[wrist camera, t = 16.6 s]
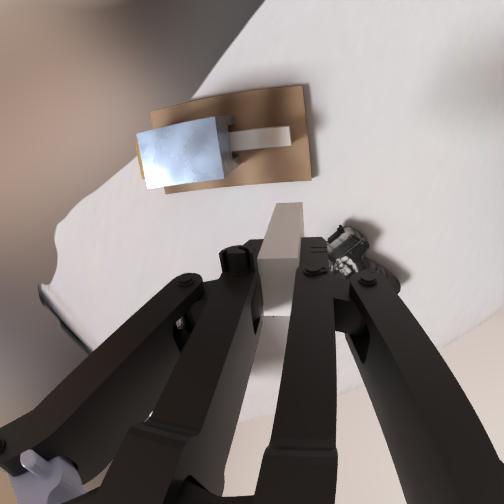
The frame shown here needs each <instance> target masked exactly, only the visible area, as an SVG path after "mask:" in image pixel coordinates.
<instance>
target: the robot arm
mask: <svg viewBox="0 0 504 504" xmlns="http://www.w3.org/2000/svg"><path fill="white" fill-rule="evenodd" d="M219 257H220V262H221V267H222V274H221V276H220V278H219V279H217V280H213V281H207V282H203V280H202V277H201V276H200V275H199V274H196V273H187V274H186V273H185V274H182V275H180V276H177V277H176V278H174V279H173V280H172V281H171V282H169V283H168V284H167V285H166V286H165V287H164V288H163V289H162V290H160V291H159V292H158V293H157V294H156V295H155V296H154V297H152V298H151V299H150V300H149V301H148V302H147V303H146V304H145V305H144V306H142V307H141V308H140V309H139V310H138V311H137V312H136V313H135V314H134V315H132V316H131V317H130V318H129V319H128V320H127V321H126V322H125V323H124V324H123V325H121V326H120V327H119V328H118V329H117V330H116V331H115V332H114V333H113V334H112V335H111V336H109V337H108V338H107V339H106V340H105V341H104V342H103V343H102V344H101V345H100V346H99V347H98V348H97V349H95V350H94V351H93V352H92V353H91V354H90V355H89V356H88V357H87V358H86V359H85V360H84V361H83V362H82V363H81V364H80V365H79V366H78V367H76V368H75V369H74V370H73V371H72V372H71V373H70V374H69V375H68V376H67V377H66V378H65V379H64V380H63V381H62V382H61V383H60V384H59V385H58V386H57V387H56V388H55V389H54V390H53V391H52V392H51V393H50V394H49V395H48V396H47V397H46V398H45V399H44V400H43V401H42V402H41V403H40V404H39V405H38V406H37V407H36V408H35V409H34V410H33V411H30V412H29V413H27V414H25V415H23V416H22V417H20V418H18V419H16V420H14V421H13V422H10V423H9V424H7V425H5V426H3V427H1V428H0V469H1V470H2V471H4V472H5V473H7V474H8V475H9V477H10V481H11V484H12V487H13V490H14V493H15V496H16V499H17V502H18V504H335V494H336V481H337V466H338V453H337V449H336V412H337V411H336V410H337V409H336V408H337V376H336V340H335V331H339V332H343V333H345V338H346V340H347V343H348V345H349V348H350V350H351V352H352V355H353V357H354V359H355V362H356V364H357V367H358V369H359V372H360V374H361V377H362V379H363V382H364V384H365V387H366V389H367V391H368V394H369V397H370V399H371V401H372V404H373V407H374V409H375V412H376V415H377V418H378V420H379V423H380V426H381V428H382V431H383V433H384V437H385V439H386V442H387V445H388V448H389V451H390V454H391V456H392V459H393V462H394V465H395V468H396V471H397V474H398V477H399V480H400V484H401V487H402V490H403V493H404V496H405V499H406V502H407V504H504V463H503V462H502V461H500V460H499V458H498V455H497V453H496V451H495V449H494V447H493V445H492V443H491V441H490V439H489V437H488V435H487V433H486V431H485V429H484V427H483V425H482V423H481V421H480V419H479V418H478V416H477V414H476V412H475V410H474V409H473V407H472V405H471V403H470V402H469V400H468V398H467V397H466V395H465V393H464V391H463V390H462V388H461V386H460V385H459V383H458V381H457V380H456V378H455V377H454V375H453V373H452V372H451V370H450V369H449V367H448V366H447V364H446V362H445V361H444V359H443V358H442V356H441V355H440V353H439V352H438V350H437V349H436V347H435V346H434V344H433V343H432V341H431V340H430V338H429V337H428V336H427V334H426V333H425V331H424V330H423V328H422V327H421V326H420V324H419V323H418V321H417V320H416V319H415V317H414V316H413V314H412V313H411V312H410V310H409V309H408V308H407V306H406V305H405V304H404V302H403V301H402V300H401V298H400V297H399V296H398V294H397V293H396V292H395V290H394V289H393V288H392V287H391V285H390V284H389V283H388V281H387V280H386V279H385V278H384V277H383V276H382V275H381V274H379V273H377V272H374V271H368V270H366V271H359V272H356V273H354V274H353V275H352V276H351V278H350V280H348V279H343V278H339V277H337V276H335V275H334V274H332V273H331V270H330V268H329V260H328V250H327V241H325V240H324V239H323V238H322V237H304V221H303V203H302V202H299V203H276V206H275V209H274V212H273V215H272V217H271V220H270V223H269V226H268V229H267V232H266V235H265V237H264V239H254V240H249V241H248V242H246V243H245V244H244V245H237V246H231V247H228V248H225V249H224V250H222V251H221V252H220V253H219ZM262 308H263V311H264V316H290V322H289V329H288V336H287V344H286V350H285V357H284V364H283V370H282V377H281V383H280V389H279V395H278V401H277V407H276V413H275V418H274V424H273V429H272V435H271V440H270V443H269V446H268V447H267V448H266V450H265V452H264V455H263V459H262V464H261V468H260V472H259V477H258V481H257V486H256V491H255V494H254V495H252V496H237V497H222V493H223V489H224V470H225V465H226V462H227V458H228V454H229V451H230V447H231V443H232V440H233V436H234V433H235V429H236V425H237V422H238V418H239V414H240V410H241V406H242V403H243V399H244V395H245V391H246V387H247V383H248V379H249V375H250V371H251V367H252V363H253V359H254V355H255V351H256V347H257V343H258V339H259V335H260V331H261V327H262V317H261V312H262ZM179 319H181V322H182V325H181V326H180V327H178V328H177V326H176V322H177V321H178V320H179ZM152 411H153V412H152ZM151 413H152V414H151ZM150 414H151V416H150V418H149V419H148V420H147V421H146V422H144V421H145V420H146V419H147V418H148V416H149V415H150ZM112 460H113V461H112ZM111 461H112V463H111V465H110V467H109V469H108V471H107V473H106V475H105V478H104V480H103V482H102V484H101V486H99V487H97V488H95V489H93V490H91V491H89V492H87V490H86V488H85V487H84V486H83V485H84V484H85V483H87V482H89V481H90V480H92V479H93V478H94V477H96V476H97V475H98V474H99V473H100V472H102V471H103V470H104V469H105V468H106V467H107V465H108V464H109V463H110V462H111Z"/></svg>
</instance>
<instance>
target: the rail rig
mask: <svg viewBox="0 0 504 504" xmlns="http://www.w3.org/2000/svg"><path fill="white" fill-rule="evenodd" d="M229 115H234V121H235V125H230V126H228V131H229V138H230V145H231V152H232V156H236V155H239V156H240V163H241V164H240V165H239V166H238V167H237V168H236V169H235V170H234V171H232V172H231V173H230V174H229V175H228V176H227V177H226V178H225V179H218V180H209V181H201V182H193V183H185V184H178V185H171V186H164V189H165V194H170V193H178V192H186V191H194V190H202V189H211V188H220V187H230V186H240V185H252V184H264V183H278V182H293V181H312V180H311V167H310V155H309V144H308V134H307V124H306V115H305V106H304V98H303V90H302V86H290V87H279V88H269V89H261V90H253V91H246V92H239V93H233V94H227V95H221V96H216V97H210V98H205V99H200V100H196V101H191V102H187V103H183V104H178V105H175V106H171V107H166V108H163V109H159V110H155V111H152V112H150V117H151V122H152V128H153V129H157V128H161V127H166V126H170V125H174V124H179V123H183V122H188V121H193V120H198V119H204V118H209V117H215V116H229ZM135 145H136V151H137V156H138V161H139V165H140V170H141V175H142V179H145V174H144V170H143V165H142V160H141V155H140V150H139V145H138V140H136V141H135Z"/></svg>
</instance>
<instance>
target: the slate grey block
mask: <svg viewBox="0 0 504 504" xmlns="http://www.w3.org/2000/svg"><path fill="white" fill-rule="evenodd" d="M230 125H235V121H234V115H229V116H215V117H209V118H204V119H198V120H193V121H188V122H183V123H179V124H174V125H170V126H166V127H161V128H157V129H153V130H150V131H146V132H142V133H138V134H137V139H138V145H139V150H140V155H141V160H142V165H143V170H144V174H145V179H146V183H147V188H148V189H151V188H158V187H164V186H171V185H178V184H185V183H193V182H201V181H209V180H218V179H225V178H226V177H227V176H228V175H229V174H230V173H231V172H232V171H234V170H235V169H236V168H237V167H238V166H239V165H240V164H241V163H240V156H239V155H236V156H232V152H231V145H230V138H229V131H228V126H230Z"/></svg>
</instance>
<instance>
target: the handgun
mask: <svg viewBox="0 0 504 504" xmlns="http://www.w3.org/2000/svg"><path fill="white" fill-rule="evenodd" d="M339 226H340V227H339V228H337V232H336V233H334V234H333V235H332V236H331V237H329V238H328V242H327V250H328V260H329V268H330V270H331V273H332V274H334V275H335V276H337V277H339V278H343V279H348V280H350V278H351V276H352V275H353V274H354V273H356V272H359V271H366V270H368V271H374V272H377V273H379V274H381V275H382V276H383V277H384V278H385V279H386V280H387V281H388V283H389V284H390V285H391V287H392V288H393V289H394V290H395V292H396V293H397V294H398V293H399V292H400V287H401V286H400V283H399V280H398V279H397V278H396V277H395V276H394V275H393V274H391V273H390V272H389V271H387V270H386V269H384V268H383V267H381V266H380V265H378V264H376V263H374V262H372V261H370V260H368V259H366V258H364V257H363V256H364V254H365V253H366V251H367V250H368V249H369V243H368V241H367V238H366V237H365V236H364V235H362V234H361V233H359V232H358V231H356V230H354V229H353V228H351V227H346V228H343V227H342V226H341V225H339ZM263 316H264V311H263V308H262V312H261V317H263ZM273 317H274V316H273Z"/></svg>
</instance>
